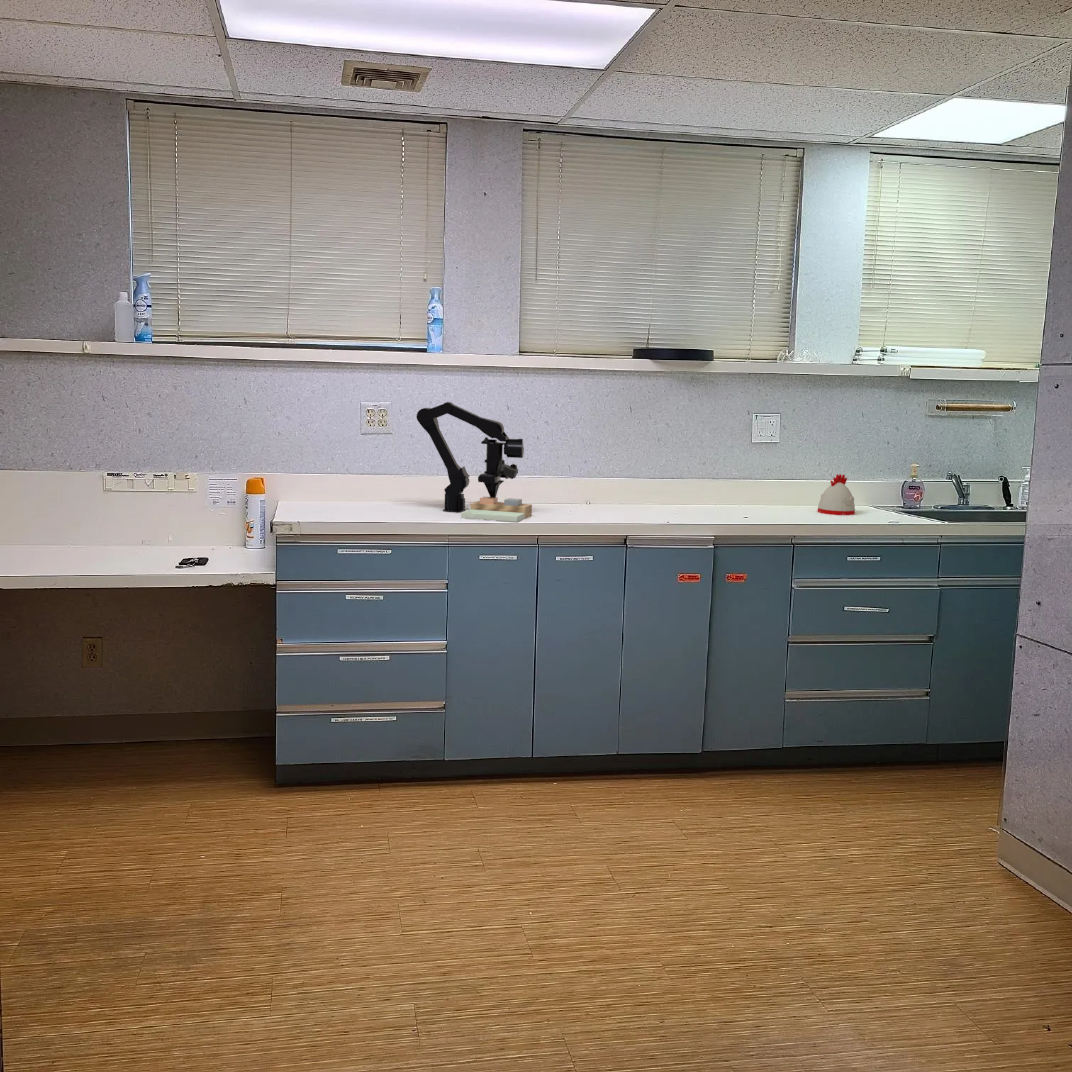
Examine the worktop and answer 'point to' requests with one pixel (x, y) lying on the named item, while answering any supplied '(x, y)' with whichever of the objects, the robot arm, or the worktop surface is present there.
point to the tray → (493, 515)
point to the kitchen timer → (837, 498)
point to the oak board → (503, 508)
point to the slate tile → (512, 502)
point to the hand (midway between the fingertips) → (493, 500)
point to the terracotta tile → (489, 500)
